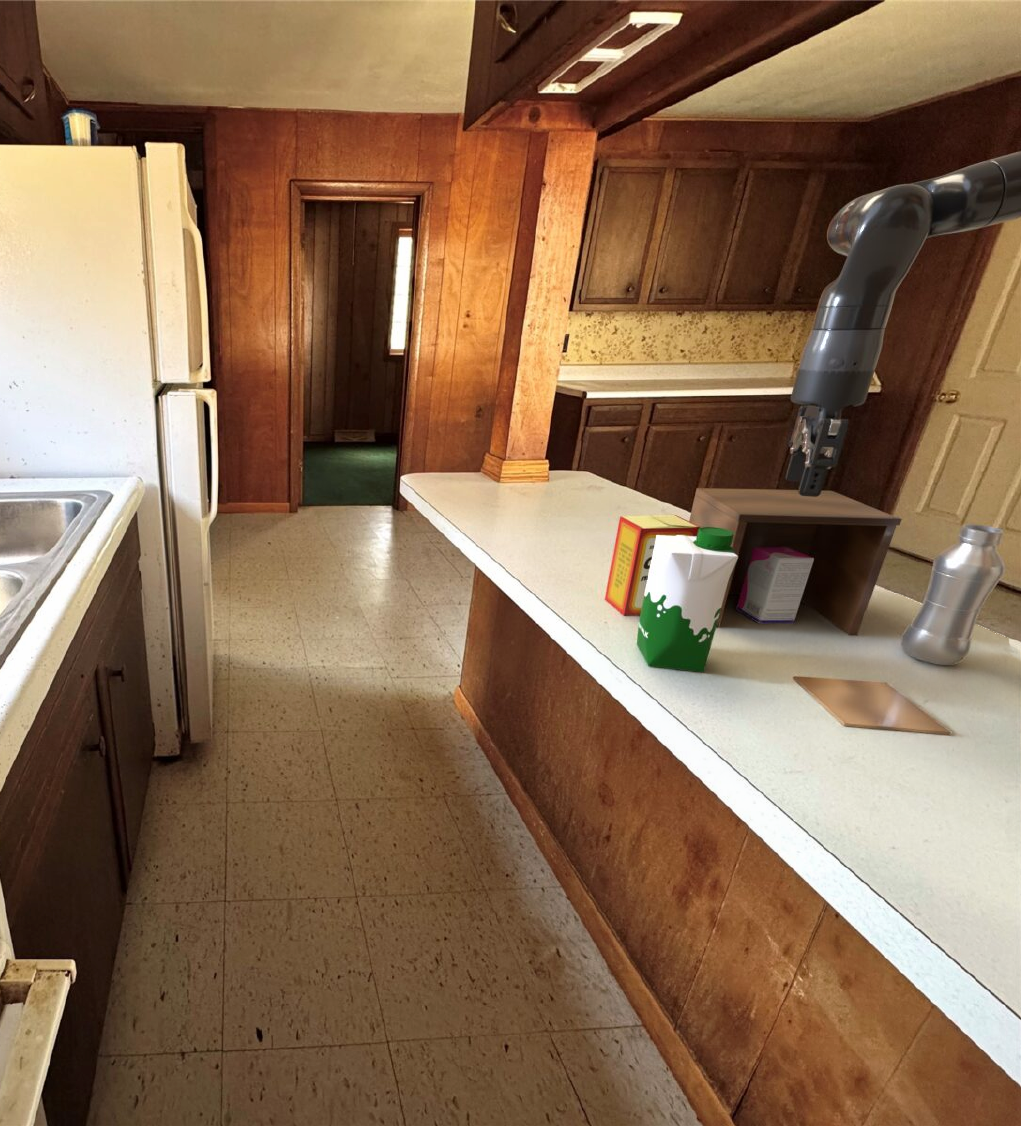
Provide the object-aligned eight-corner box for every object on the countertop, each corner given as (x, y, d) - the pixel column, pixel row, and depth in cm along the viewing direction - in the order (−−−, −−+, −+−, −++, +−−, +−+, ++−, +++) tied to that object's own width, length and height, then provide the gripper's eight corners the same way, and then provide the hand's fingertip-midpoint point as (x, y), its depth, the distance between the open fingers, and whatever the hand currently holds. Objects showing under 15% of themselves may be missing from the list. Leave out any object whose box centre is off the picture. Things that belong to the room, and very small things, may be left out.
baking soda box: (623, 615, 105) (641, 526, 99) (604, 599, 111) (620, 514, 105) (679, 614, 105) (701, 524, 99) (657, 598, 111) (676, 512, 105)
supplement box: (795, 623, 101) (816, 558, 97) (758, 624, 101) (777, 558, 97) (769, 608, 106) (787, 545, 102) (734, 608, 106) (751, 546, 102)
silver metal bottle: (897, 643, 94) (946, 517, 87) (962, 658, 89) (1019, 527, 82) (894, 659, 90) (946, 528, 82) (962, 676, 85) (1023, 540, 78)
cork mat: (885, 684, 84) (886, 682, 84) (950, 734, 74) (951, 732, 74) (792, 678, 86) (793, 675, 86) (843, 725, 76) (844, 723, 76)
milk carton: (713, 676, 87) (749, 543, 80) (641, 668, 90) (669, 538, 82) (693, 647, 95) (724, 522, 87) (627, 640, 97) (652, 519, 90)
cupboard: (859, 636, 96) (902, 518, 89) (710, 627, 100) (739, 514, 93) (800, 594, 111) (833, 490, 104) (672, 588, 115) (695, 487, 108)
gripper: (893, 371, 72) (850, 504, 78) (858, 362, 84) (823, 479, 90) (812, 370, 76) (776, 498, 82) (788, 362, 87) (759, 474, 93)
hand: (801, 488), depth 86 cm, fingers open, 8 cm apart
